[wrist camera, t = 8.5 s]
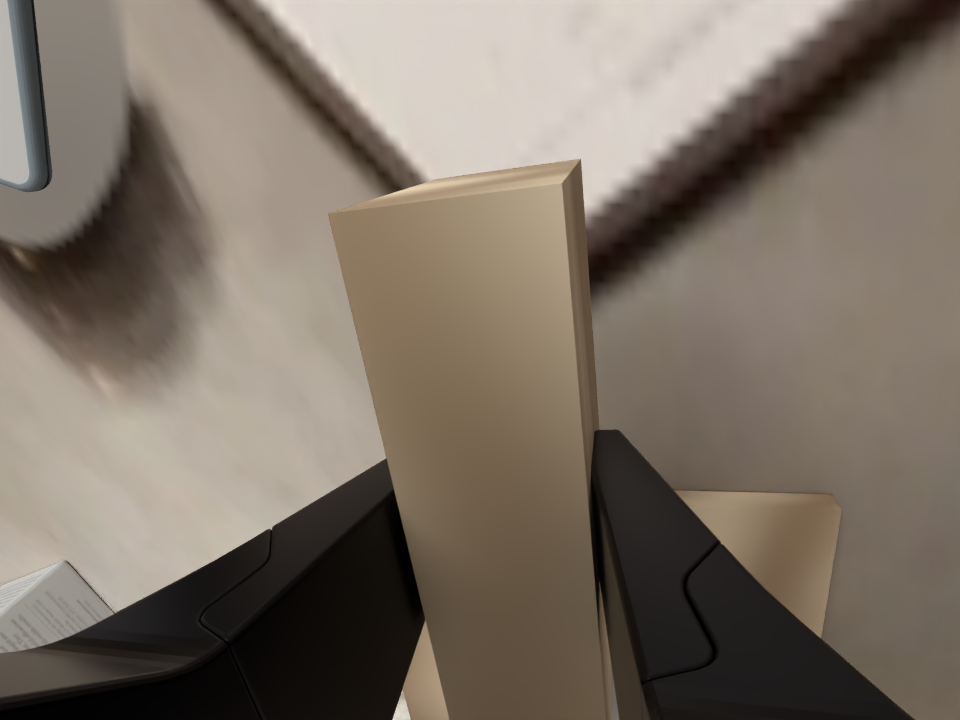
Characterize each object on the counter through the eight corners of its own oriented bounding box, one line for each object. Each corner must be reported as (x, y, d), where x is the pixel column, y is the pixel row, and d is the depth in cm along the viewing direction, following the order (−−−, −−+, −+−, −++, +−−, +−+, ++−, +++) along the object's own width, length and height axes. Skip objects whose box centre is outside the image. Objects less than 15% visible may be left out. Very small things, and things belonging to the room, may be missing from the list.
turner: (666, 146, 8) (713, 163, 5) (674, 748, 13) (700, 977, 10) (367, 189, 9) (220, 228, 6) (479, 724, 15) (438, 919, 11)
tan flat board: (831, 494, 17) (841, 511, 16) (789, 774, 22) (795, 795, 21) (361, 482, 21) (352, 495, 20) (421, 723, 26) (416, 740, 25)
